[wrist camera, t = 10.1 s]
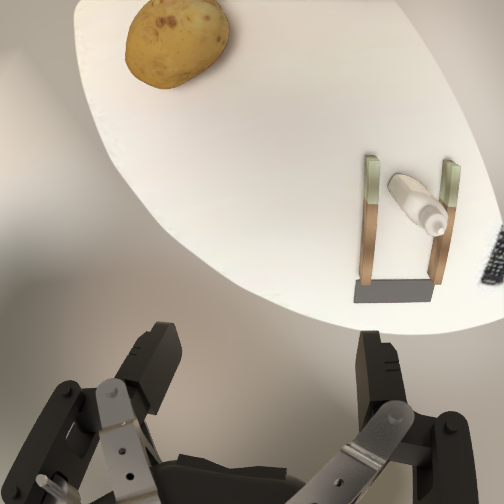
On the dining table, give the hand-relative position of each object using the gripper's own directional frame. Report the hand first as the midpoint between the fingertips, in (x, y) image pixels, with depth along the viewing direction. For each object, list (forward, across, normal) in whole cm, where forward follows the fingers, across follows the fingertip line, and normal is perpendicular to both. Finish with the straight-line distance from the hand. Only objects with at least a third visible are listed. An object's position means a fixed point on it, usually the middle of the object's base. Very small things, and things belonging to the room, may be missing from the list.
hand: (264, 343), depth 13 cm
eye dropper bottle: (+28, -14, +2) cm, 32 cm away
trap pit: (+28, -14, +17) cm, 36 cm away
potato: (+28, +11, -17) cm, 35 cm away
